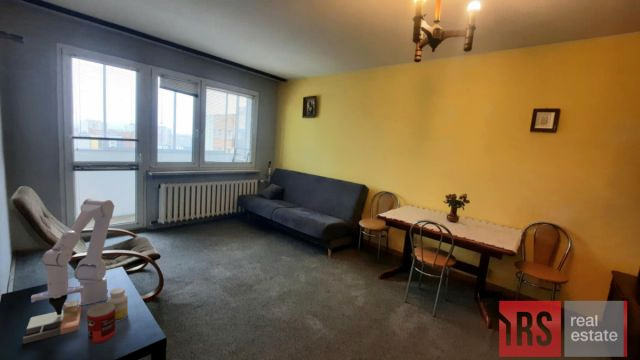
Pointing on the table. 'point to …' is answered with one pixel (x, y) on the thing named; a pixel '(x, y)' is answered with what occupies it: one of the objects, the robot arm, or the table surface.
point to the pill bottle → (119, 303)
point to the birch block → (70, 308)
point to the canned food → (101, 322)
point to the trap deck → (51, 325)
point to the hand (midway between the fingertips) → (59, 313)
